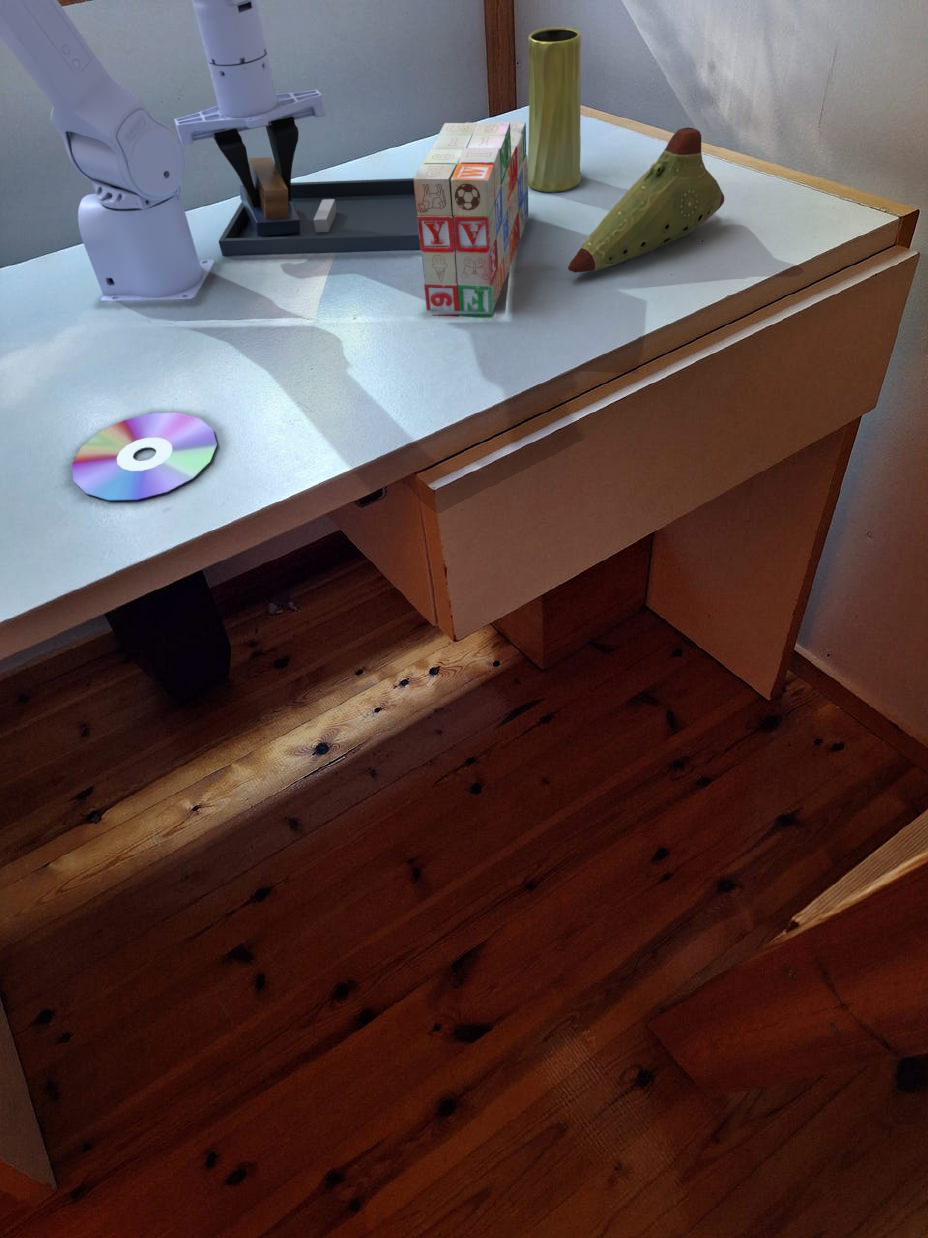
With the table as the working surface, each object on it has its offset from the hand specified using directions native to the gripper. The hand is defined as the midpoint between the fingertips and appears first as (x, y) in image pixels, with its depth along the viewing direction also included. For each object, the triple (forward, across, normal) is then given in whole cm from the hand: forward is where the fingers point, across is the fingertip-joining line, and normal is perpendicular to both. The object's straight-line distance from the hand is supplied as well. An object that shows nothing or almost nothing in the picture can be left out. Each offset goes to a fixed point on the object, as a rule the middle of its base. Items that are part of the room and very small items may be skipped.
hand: (270, 201), depth 95 cm
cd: (+2, -19, -36) cm, 40 cm away
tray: (+3, +6, -3) cm, 7 cm away
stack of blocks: (+3, +16, -18) cm, 25 cm away
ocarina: (+3, +32, -24) cm, 40 cm away
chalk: (+2, +5, -3) cm, 6 cm away
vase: (+3, +31, -4) cm, 31 cm away
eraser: (+1, 0, 0) cm, 1 cm away
